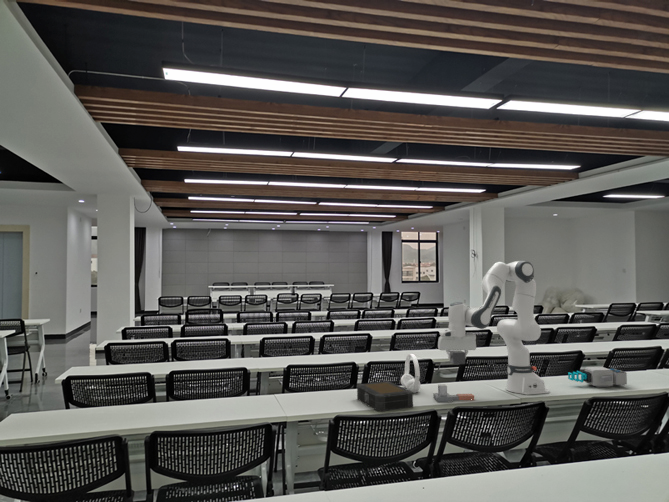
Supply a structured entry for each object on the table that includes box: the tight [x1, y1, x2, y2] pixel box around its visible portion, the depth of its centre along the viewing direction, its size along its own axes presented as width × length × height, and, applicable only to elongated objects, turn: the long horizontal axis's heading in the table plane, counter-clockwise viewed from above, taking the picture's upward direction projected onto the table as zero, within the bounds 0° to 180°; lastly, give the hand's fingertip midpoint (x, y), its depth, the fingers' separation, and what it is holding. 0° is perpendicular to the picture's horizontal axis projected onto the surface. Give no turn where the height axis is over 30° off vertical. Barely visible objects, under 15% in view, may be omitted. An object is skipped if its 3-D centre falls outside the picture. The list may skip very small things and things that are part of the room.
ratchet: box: [432, 384, 475, 403], centre depth 238 cm, size 20×8×8 cm, turn 94°
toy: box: [567, 366, 628, 388], centre depth 265 cm, size 16×10×30 cm
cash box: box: [356, 381, 414, 412], centre depth 233 cm, size 25×20×8 cm
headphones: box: [400, 353, 421, 394], centre depth 258 cm, size 20×8×20 cm, turn 9°
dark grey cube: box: [449, 350, 466, 365], centre depth 247 cm, size 6×6×6 cm
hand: (457, 358), depth 247 cm, fingers closed on dark grey cube, 6 cm apart
